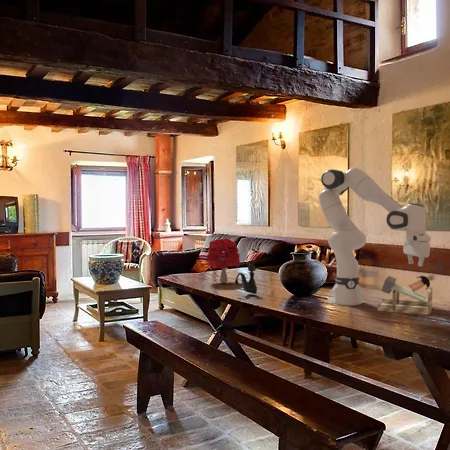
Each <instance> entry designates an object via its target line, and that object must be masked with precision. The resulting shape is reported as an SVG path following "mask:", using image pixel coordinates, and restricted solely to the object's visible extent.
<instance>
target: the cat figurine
mask: <svg viewBox="0 0 450 450" xmlns="http://www.w3.org/2000/svg"><path fill="white" fill-rule="evenodd" d="M246 263H247V270H248V275H249V280H248V281H247V278H246V275H245V274H244V273H243V272H239V273H237V276H236V278H235V279H234V280H235V281H234V285H235V286H238V285H239V280H238V279H239V276H240V279H241V286H242V290H243V291H244V292H246V293H247V294H253V295H256V294H258V285H257V283H256V279H255V272H256V270H257V268H256V265H254V264H253V263H252V262H251V263H249V262H246Z"/></svg>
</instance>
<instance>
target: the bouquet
mask: <svg viewBox="0 0 450 450" xmlns="http://www.w3.org/2000/svg"><path fill="white" fill-rule="evenodd" d="M208 244H209V246H208V253H207V257H206V258H207V259H206V260H207V261H208V265H209V266H210V267H212V268H213V269H221V272H220V277H219V283H225V284H226V283H228V279H229V278H228V275H227V270H226V268H228V267H232V266H233V267H234V268H239V267H240V263H241V259H240V257H241V254H240V253H239V248H238V246H237V244H236V242H235V241H234V240H232V239H229V238H226V237H224V238H220V239H219V238H218V239H214V240H211V241H209V243H208Z"/></svg>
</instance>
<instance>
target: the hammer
mask: <svg viewBox="0 0 450 450" xmlns="http://www.w3.org/2000/svg"><path fill="white" fill-rule="evenodd" d="M396 282H397V278H396V277H393V276H390V275H388V276H387V277H386V278H385V280H384V282H383V285H382V287H381V290H380V291H381V292H383V293H385V294H388V295H389V294H391V293H392V292H393V290H396V292H399V294H401V295H403V296H406V297H410V298H411V299H415V301H421V302H424V301H426V297H427V295H426V294H424V293H421V292H418V291H417V290H416V291H415V292H413V291H412V288H408V287H405V286H403V285H401V284H397V283H396Z"/></svg>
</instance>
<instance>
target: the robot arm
mask: <svg viewBox="0 0 450 450" xmlns="http://www.w3.org/2000/svg"><path fill="white" fill-rule="evenodd" d="M320 181H321V184H322V186H323V187H324V189H323V190H322V191H320V193H319V194H318V202H319V205H320V208H321V210H322V213H323V215H324V217H325V219H326V222H327V224H328V226H330V227H331V228H332V229H333V230H334V231H335V232H334V231H333V232H332V233H331V234H330V235H329V237H328V240H327V241H328V246H329V248H331V250H332V252H333V253H334V256H335V258H336V259H335V261H336V264H337V273H336V275H335V276H336V277H335V278H336V282H335V283H336V284H335V283H334V285H333V287H332V288H331V289H329V295H331V296H328V297H327V301H328V302H329V304H330V305H342V306H358V305H361V304H365V303H366V301H365V300H363V289H362V287H361V286H360V277H359V261H358V260H357V259H356V257H355V255H354V251H356V250H359V249H361V248H363V247H364V246H365V245H366V244H367V243H366V242H367V236H366V234H365V233H364V232H363V230H360V229H359V228H358V227H357V225H355V223H354V222H353V220H351V218H350V216H349V215H348V213H347V210H346V208H345V207H344V205H343V203H342V200H341V199H340V196H342V195H343V194H344V193H345V192H347V191H348V190H349V189H351V190H352V191H353V192H354V193H355V194H356V195H357V196H358V197H359V198H361V199H362V200H364V201H366V202H370V203H374V204H377V205H380V206H381V207H382V208H384V210H386V211H387V212H388V213H387V216H386V224H387V226H388V227H389V228H390V229H393V230H405V238H404V241H403V246H402V247H403V249H402V250H403V254H405V255H407V259H408V264H410V265H413V264H414V263H415V262H414V259H413V257H418V262H417V266H418V267H423V266H424V261H425V258H429V257H430V255H431V254H430V252H431V243H430V242H431V236H430V235H429V234H428V233H426V223H427V218H426V217H427V216H426V209H425V208H426V207H425V206H424V205H423V204H420V203H415V202H414V203H413V202H411V203H407V204H406V205H404V206H402V205H400V204H399V203H398V202H397V201H396V200H395V199H394V198H393V197H392V196H390V195H389V194H388V193H387V192H386V191H385V190H384V189H383V188H382V187H380V185H379V184H378V183H377V182H376V181H375V180H374V179H373V178H372V177H371V176H370V175H368V173H366V172H365V171H363V169H360V168H359V167H356V166H355V167H354V166H353V167H351V168H349V169H348V170H347V171H345V172H343V171H342V170H338V169H327V170H325V171H324V172H322V175H321V176H320Z"/></svg>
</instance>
